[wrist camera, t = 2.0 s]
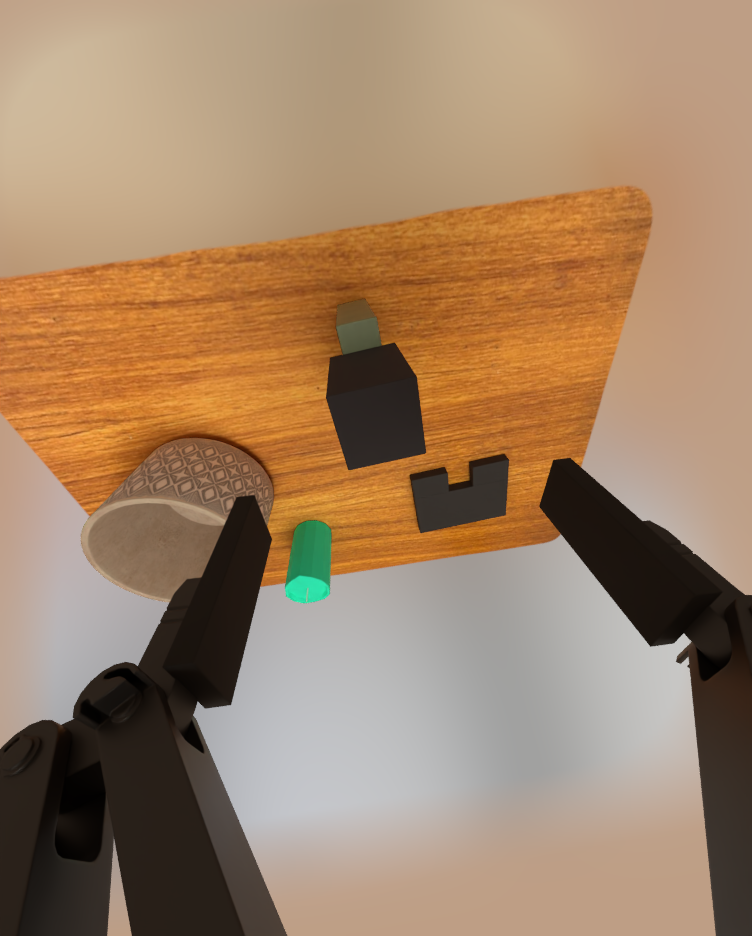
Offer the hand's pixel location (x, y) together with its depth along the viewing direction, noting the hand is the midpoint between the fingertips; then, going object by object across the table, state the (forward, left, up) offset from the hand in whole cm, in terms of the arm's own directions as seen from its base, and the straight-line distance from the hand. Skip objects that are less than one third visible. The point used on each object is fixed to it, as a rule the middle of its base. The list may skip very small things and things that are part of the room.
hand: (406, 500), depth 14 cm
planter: (+24, +13, -26) cm, 38 cm away
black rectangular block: (0, +1, -14) cm, 14 cm away
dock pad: (-10, +24, -26) cm, 36 cm away
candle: (+14, +26, -26) cm, 39 cm away
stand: (0, -1, -26) cm, 26 cm away
